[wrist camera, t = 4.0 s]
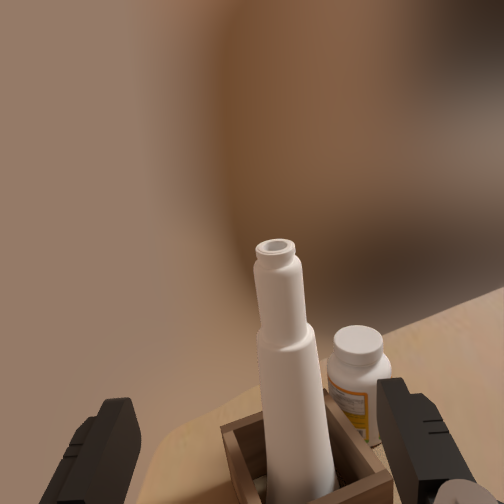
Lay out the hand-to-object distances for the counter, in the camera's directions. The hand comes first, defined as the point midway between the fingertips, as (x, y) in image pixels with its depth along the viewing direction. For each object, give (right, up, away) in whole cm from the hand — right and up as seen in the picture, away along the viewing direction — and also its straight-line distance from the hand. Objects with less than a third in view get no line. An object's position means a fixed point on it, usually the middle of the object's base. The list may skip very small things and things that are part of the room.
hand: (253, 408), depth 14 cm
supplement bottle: (+10, -11, +25) cm, 29 cm away
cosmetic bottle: (+4, -15, +19) cm, 24 cm away
